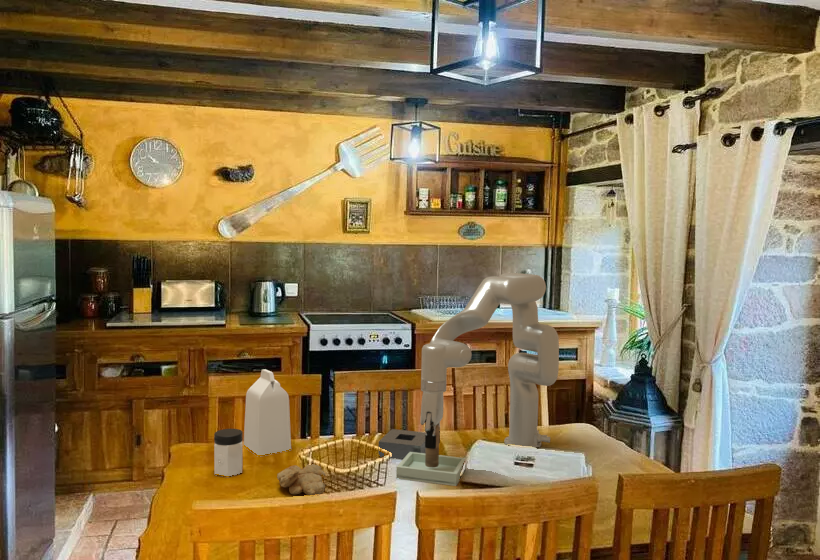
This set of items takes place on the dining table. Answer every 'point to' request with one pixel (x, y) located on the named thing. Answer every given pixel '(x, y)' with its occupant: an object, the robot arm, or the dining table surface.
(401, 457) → the block
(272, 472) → the dining table surface
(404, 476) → the sage tray
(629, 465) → the dining table surface
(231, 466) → the jar
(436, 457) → the walnut peg
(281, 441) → the milk
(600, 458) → the dining table surface
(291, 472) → the ginger root
